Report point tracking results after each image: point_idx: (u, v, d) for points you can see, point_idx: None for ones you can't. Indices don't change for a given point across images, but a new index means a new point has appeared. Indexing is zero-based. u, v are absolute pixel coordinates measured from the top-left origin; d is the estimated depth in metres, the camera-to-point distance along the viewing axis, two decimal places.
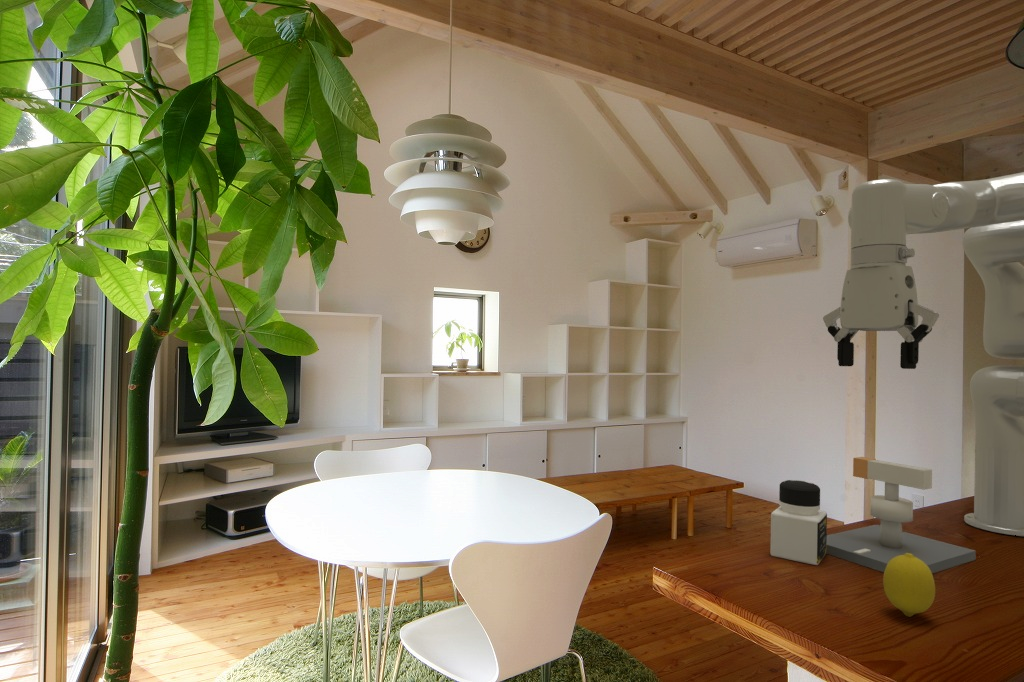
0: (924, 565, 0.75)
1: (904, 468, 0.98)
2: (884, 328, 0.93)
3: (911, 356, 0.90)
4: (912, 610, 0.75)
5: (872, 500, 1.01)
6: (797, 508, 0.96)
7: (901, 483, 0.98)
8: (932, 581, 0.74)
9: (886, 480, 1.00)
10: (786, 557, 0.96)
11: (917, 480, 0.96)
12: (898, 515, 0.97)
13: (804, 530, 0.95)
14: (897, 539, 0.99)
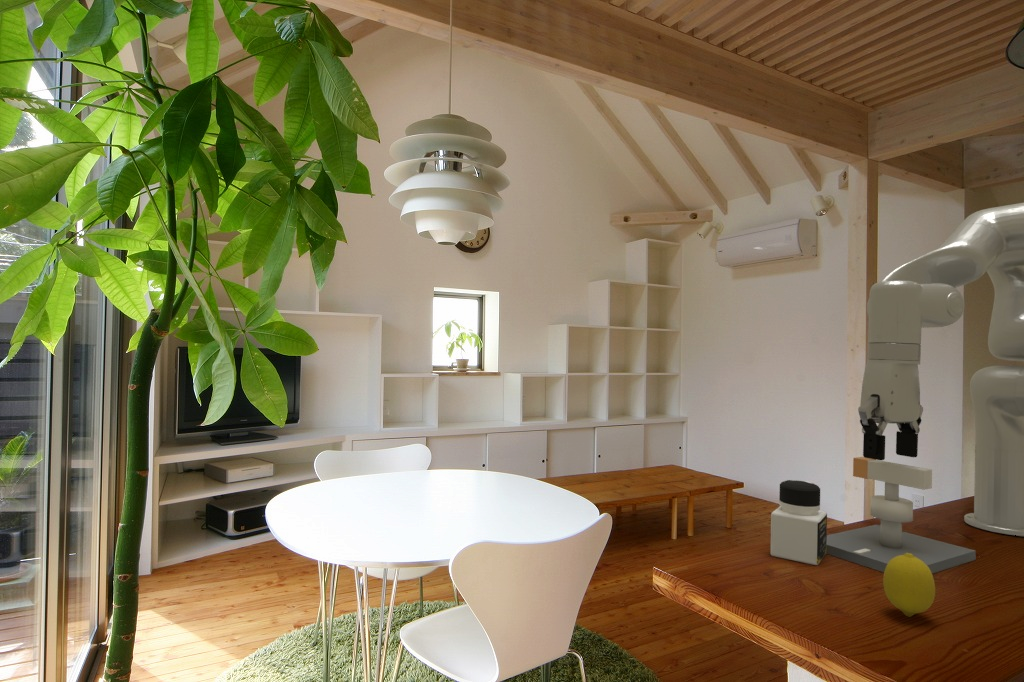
0: (924, 565, 0.75)
1: (904, 468, 0.98)
2: (910, 421, 1.00)
3: None
4: (912, 610, 0.75)
5: (872, 500, 1.01)
6: (797, 508, 0.96)
7: (901, 483, 0.98)
8: (932, 581, 0.74)
9: (886, 480, 1.00)
10: (786, 557, 0.96)
11: (917, 480, 0.96)
12: (898, 515, 0.97)
13: (804, 530, 0.95)
14: (897, 539, 0.99)
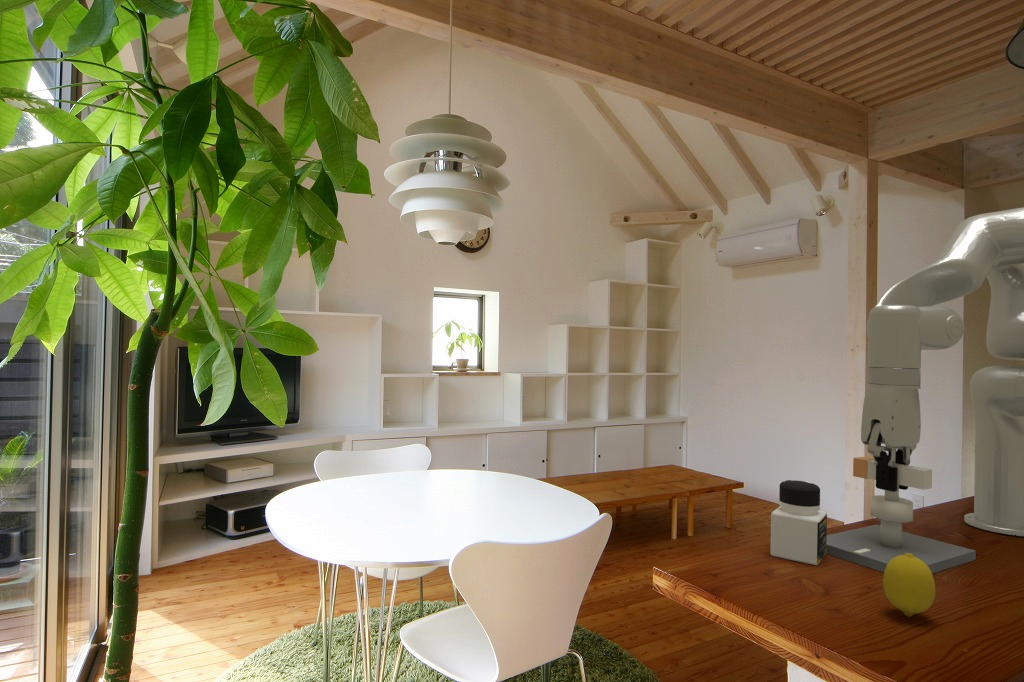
0: (924, 565, 0.75)
1: (904, 468, 0.98)
2: (911, 445, 1.00)
3: None
4: (912, 610, 0.75)
5: (872, 500, 1.01)
6: (797, 508, 0.96)
7: (901, 483, 0.98)
8: (932, 581, 0.74)
9: None
10: (786, 557, 0.96)
11: (917, 480, 0.96)
12: (898, 515, 0.97)
13: (804, 530, 0.95)
14: (897, 539, 0.99)
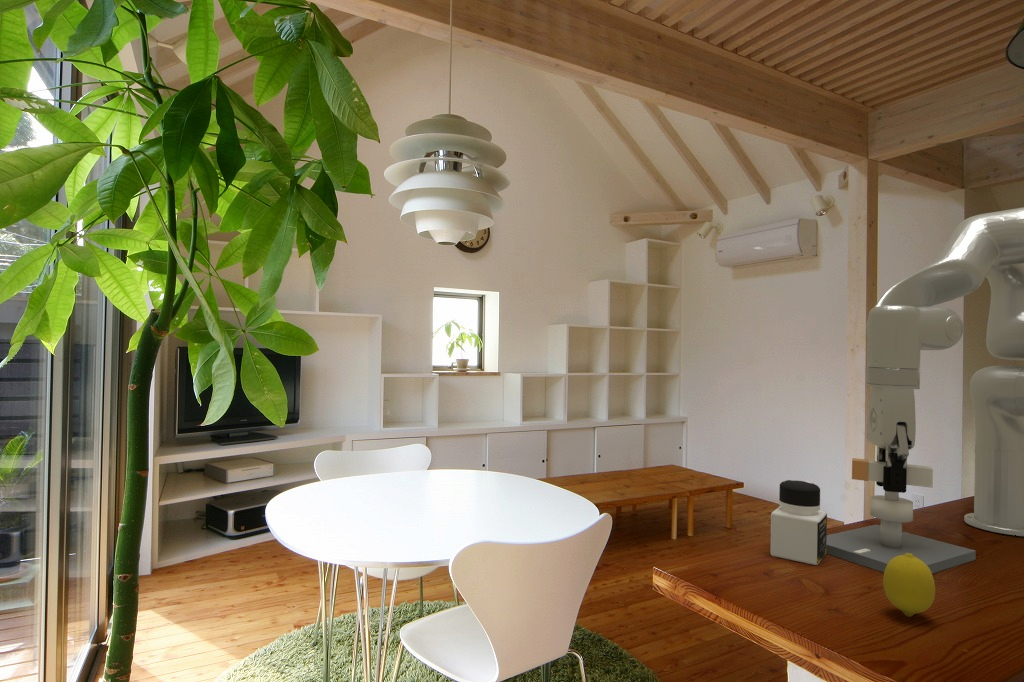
0: (924, 565, 0.75)
1: (910, 468, 0.98)
2: None
3: None
4: (912, 610, 0.75)
5: (879, 502, 0.99)
6: (797, 508, 0.96)
7: (907, 483, 0.98)
8: (932, 581, 0.74)
9: None
10: (786, 557, 0.96)
11: (925, 479, 0.97)
12: (907, 515, 0.98)
13: (804, 530, 0.95)
14: (897, 539, 0.99)
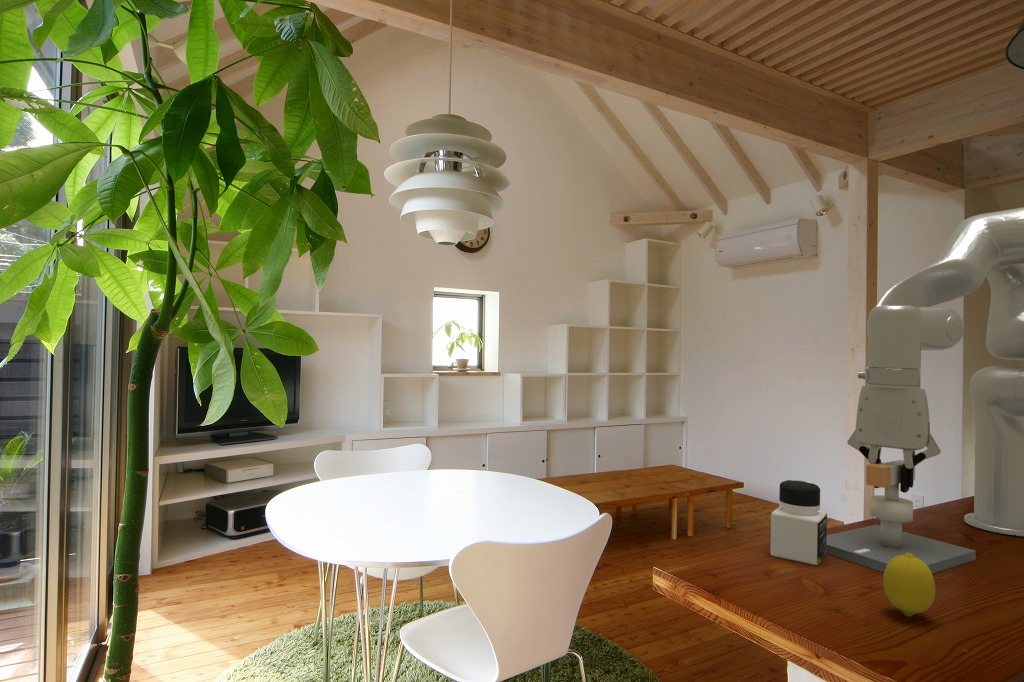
0: (924, 565, 0.75)
1: None
2: None
3: None
4: (912, 610, 0.75)
5: (901, 506, 0.97)
6: (797, 508, 0.96)
7: None
8: (932, 581, 0.74)
9: (899, 481, 0.99)
10: (786, 557, 0.96)
11: None
12: None
13: (804, 530, 0.95)
14: (897, 539, 0.99)
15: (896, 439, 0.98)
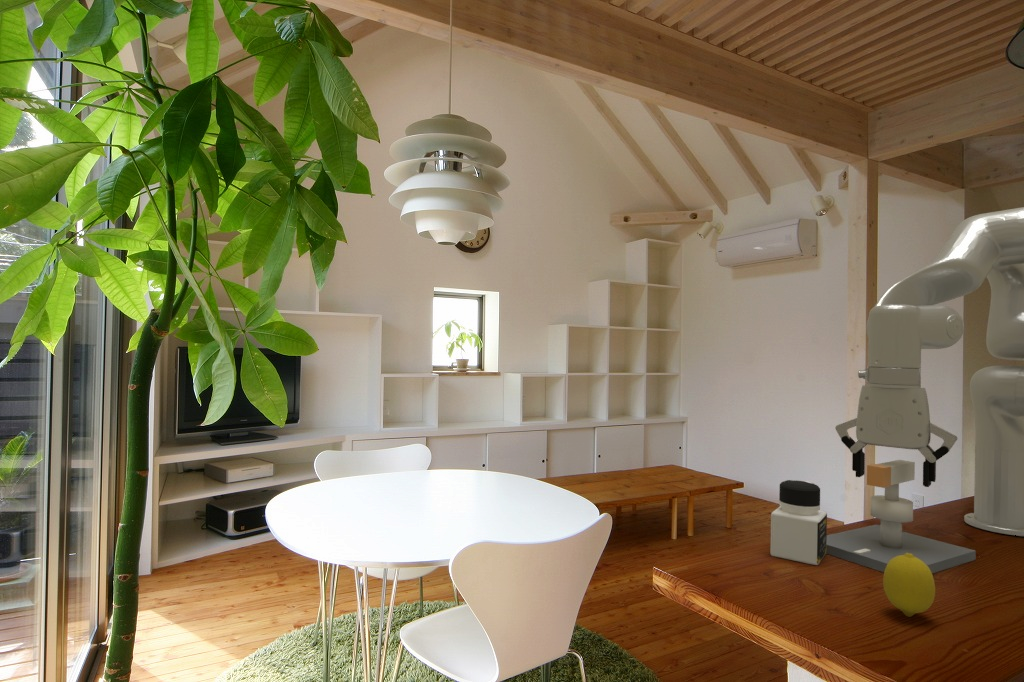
0: (924, 565, 0.75)
1: (907, 464, 1.01)
2: None
3: None
4: (912, 610, 0.75)
5: (902, 506, 0.97)
6: (797, 508, 0.96)
7: (905, 480, 1.01)
8: (932, 581, 0.74)
9: (899, 481, 0.99)
10: (786, 557, 0.96)
11: (912, 472, 1.02)
12: None
13: (804, 530, 0.95)
14: (897, 539, 0.99)
15: (897, 438, 0.98)
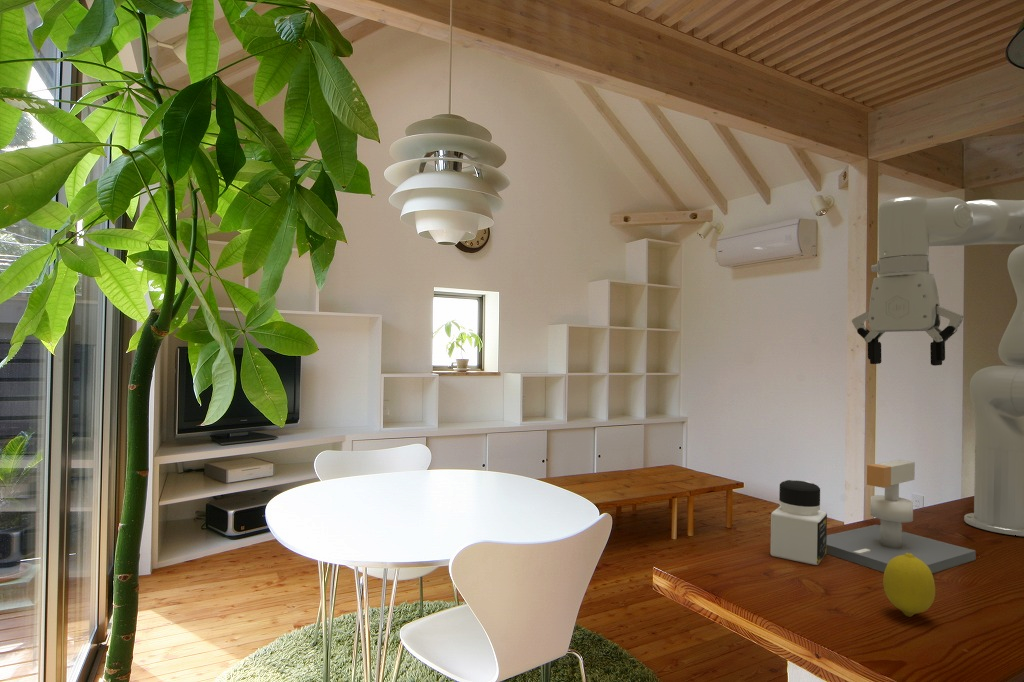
0: (924, 565, 0.75)
1: (907, 464, 1.01)
2: None
3: None
4: (912, 610, 0.75)
5: (902, 506, 0.97)
6: (797, 508, 0.96)
7: (905, 480, 1.01)
8: (932, 581, 0.74)
9: (899, 481, 0.99)
10: (786, 557, 0.96)
11: (912, 472, 1.02)
12: None
13: (804, 530, 0.95)
14: (897, 539, 0.99)
15: (904, 322, 1.04)
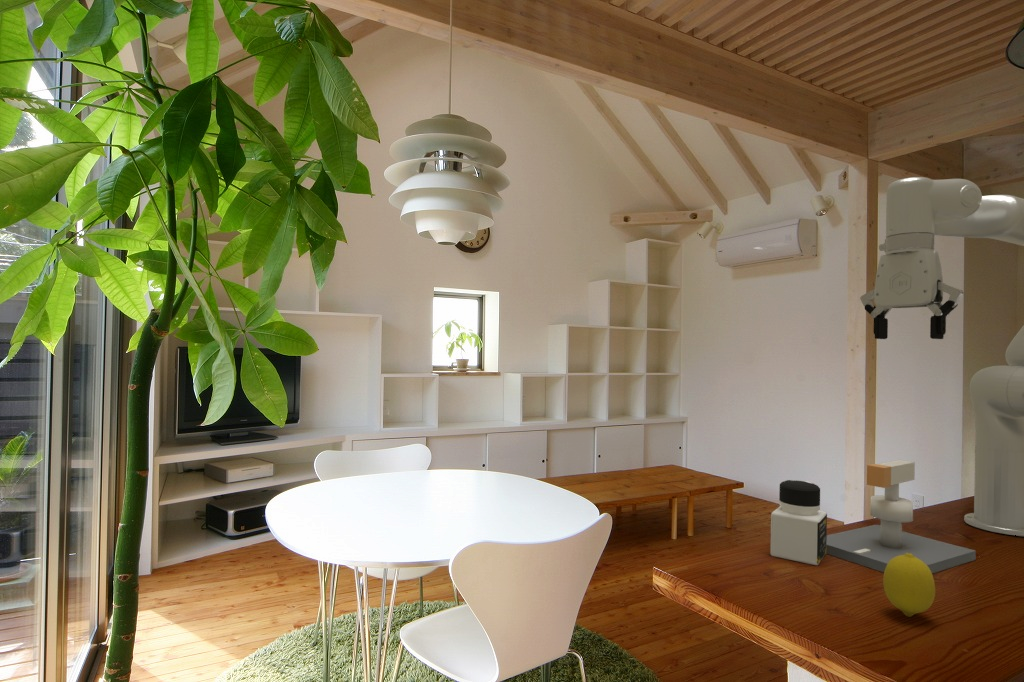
0: (924, 565, 0.75)
1: (907, 464, 1.01)
2: (901, 307, 1.14)
3: None
4: (912, 610, 0.75)
5: (902, 506, 0.97)
6: (797, 508, 0.96)
7: (905, 480, 1.01)
8: (932, 581, 0.74)
9: (899, 481, 0.99)
10: (786, 557, 0.96)
11: (912, 472, 1.02)
12: None
13: (804, 530, 0.95)
14: (897, 539, 0.99)
15: (906, 297, 1.09)
